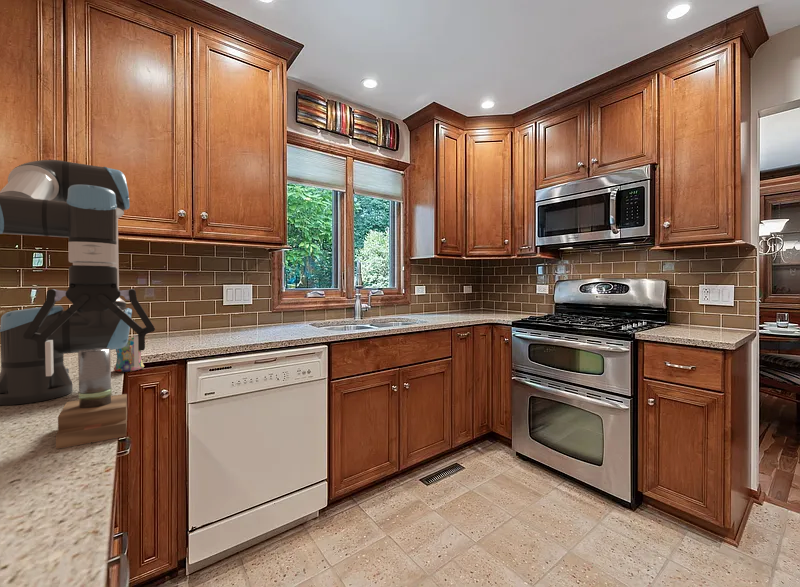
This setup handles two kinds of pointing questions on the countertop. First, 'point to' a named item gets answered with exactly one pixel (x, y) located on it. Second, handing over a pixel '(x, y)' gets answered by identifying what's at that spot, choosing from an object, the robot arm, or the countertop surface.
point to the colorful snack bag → (127, 358)
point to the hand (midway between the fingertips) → (95, 370)
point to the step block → (91, 422)
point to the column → (94, 377)
